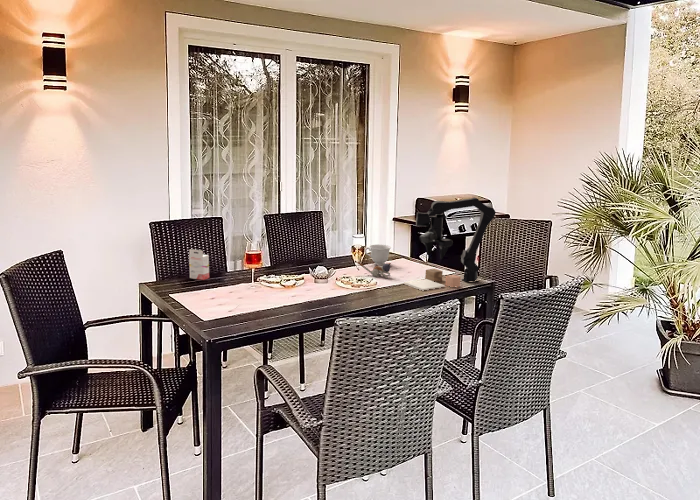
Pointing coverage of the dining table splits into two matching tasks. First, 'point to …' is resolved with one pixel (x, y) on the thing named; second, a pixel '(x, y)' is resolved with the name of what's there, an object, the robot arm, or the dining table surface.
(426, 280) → the pad
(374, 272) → the toy
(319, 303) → the dining table surface
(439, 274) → the walnut block
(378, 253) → the teacup
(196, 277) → the ink cartridge box
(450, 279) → the clay block
